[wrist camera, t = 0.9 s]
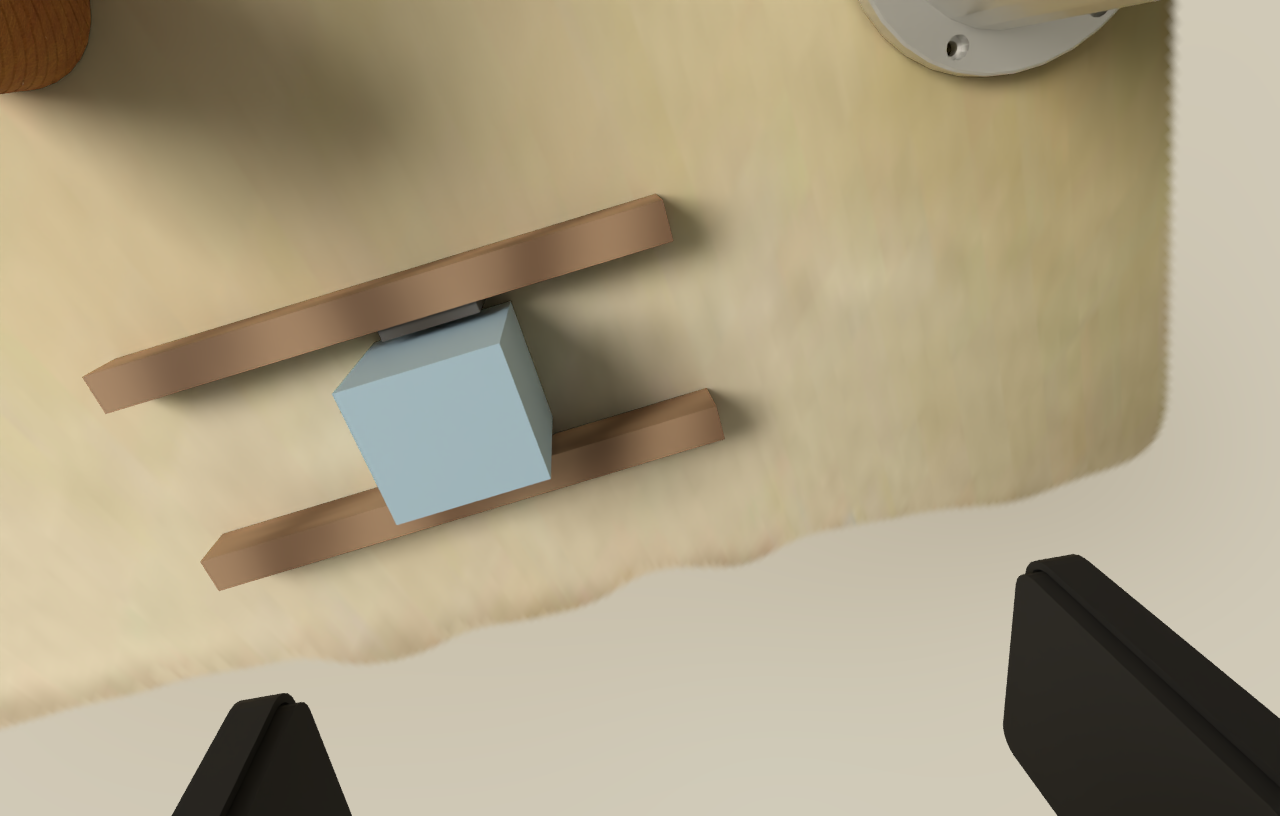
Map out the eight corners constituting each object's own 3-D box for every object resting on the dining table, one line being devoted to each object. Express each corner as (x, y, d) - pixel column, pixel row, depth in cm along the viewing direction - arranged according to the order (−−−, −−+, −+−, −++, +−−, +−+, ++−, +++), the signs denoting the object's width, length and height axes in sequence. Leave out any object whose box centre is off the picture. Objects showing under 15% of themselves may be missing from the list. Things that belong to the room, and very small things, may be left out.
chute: (655, 193, 29) (662, 199, 27) (714, 419, 33) (724, 439, 31) (115, 358, 29) (82, 376, 27) (239, 562, 33) (218, 591, 31)
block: (510, 301, 30) (499, 343, 24) (552, 416, 32) (550, 478, 27) (373, 342, 30) (332, 393, 25) (424, 454, 32) (396, 525, 27)
